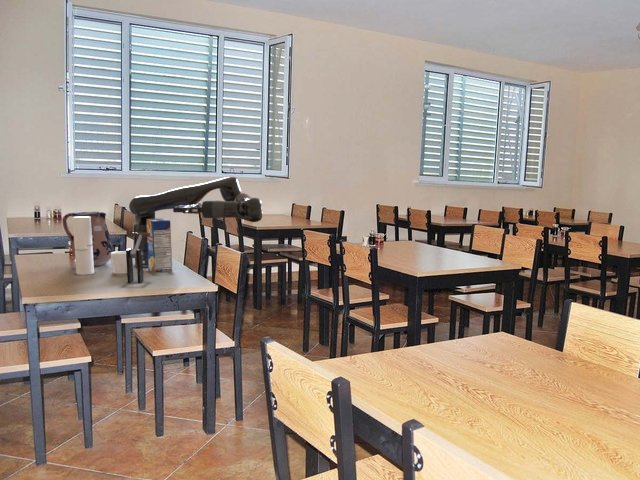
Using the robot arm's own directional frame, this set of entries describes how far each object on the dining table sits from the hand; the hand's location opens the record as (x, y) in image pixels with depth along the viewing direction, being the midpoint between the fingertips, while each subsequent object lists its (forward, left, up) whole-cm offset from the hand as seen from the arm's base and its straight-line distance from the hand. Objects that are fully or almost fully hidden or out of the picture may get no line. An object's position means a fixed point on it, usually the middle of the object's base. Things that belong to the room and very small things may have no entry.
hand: (176, 208), depth 276 cm
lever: (+11, -13, -15) cm, 22 cm away
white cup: (-6, -26, -30) cm, 40 cm away
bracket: (+16, -13, -30) cm, 36 cm away
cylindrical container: (-10, -43, -30) cm, 54 cm away
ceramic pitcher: (-31, -49, -30) cm, 65 cm away
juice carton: (-12, -11, -30) cm, 34 cm away
